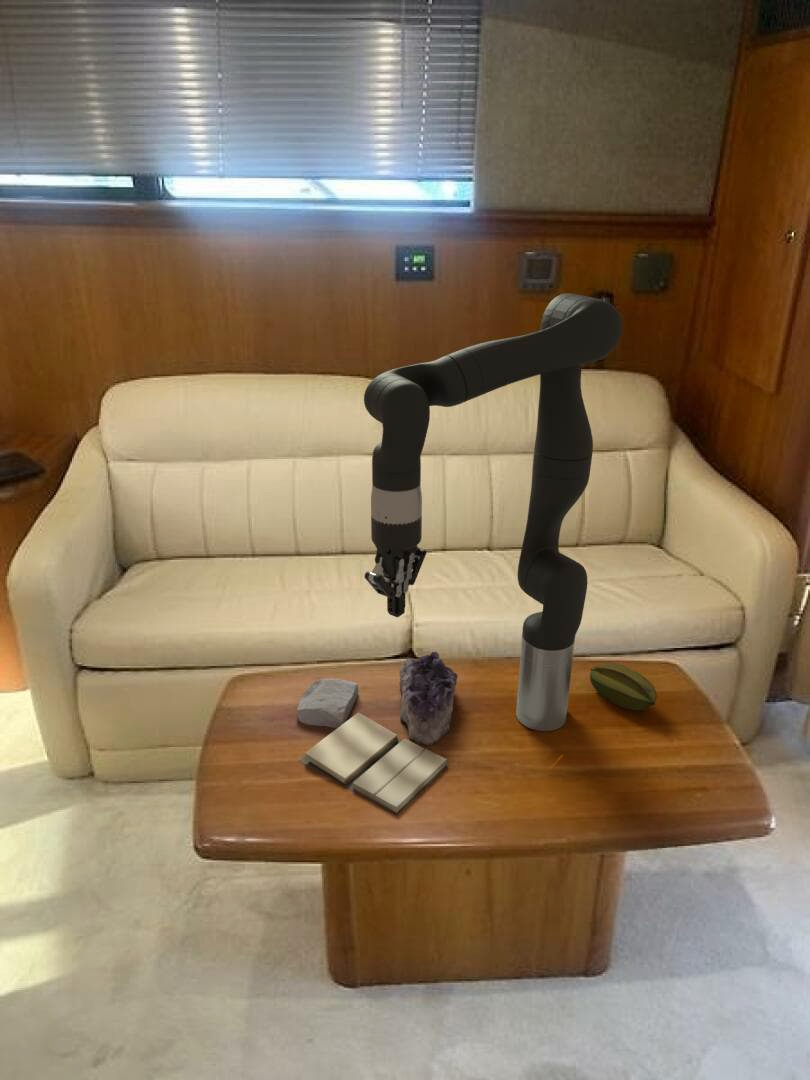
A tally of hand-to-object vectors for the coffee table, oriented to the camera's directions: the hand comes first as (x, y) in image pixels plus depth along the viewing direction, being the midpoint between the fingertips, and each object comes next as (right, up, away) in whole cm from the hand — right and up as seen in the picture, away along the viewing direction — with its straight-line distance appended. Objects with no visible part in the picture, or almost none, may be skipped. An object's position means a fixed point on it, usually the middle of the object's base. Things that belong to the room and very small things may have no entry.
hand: (396, 613), depth 123 cm
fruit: (+43, -20, +28) cm, 55 cm away
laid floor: (-4, -27, +11) cm, 29 cm away
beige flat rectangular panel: (-8, -25, +14) cm, 29 cm away
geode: (+6, -21, +24) cm, 33 cm away
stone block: (-13, -21, +26) cm, 36 cm away
